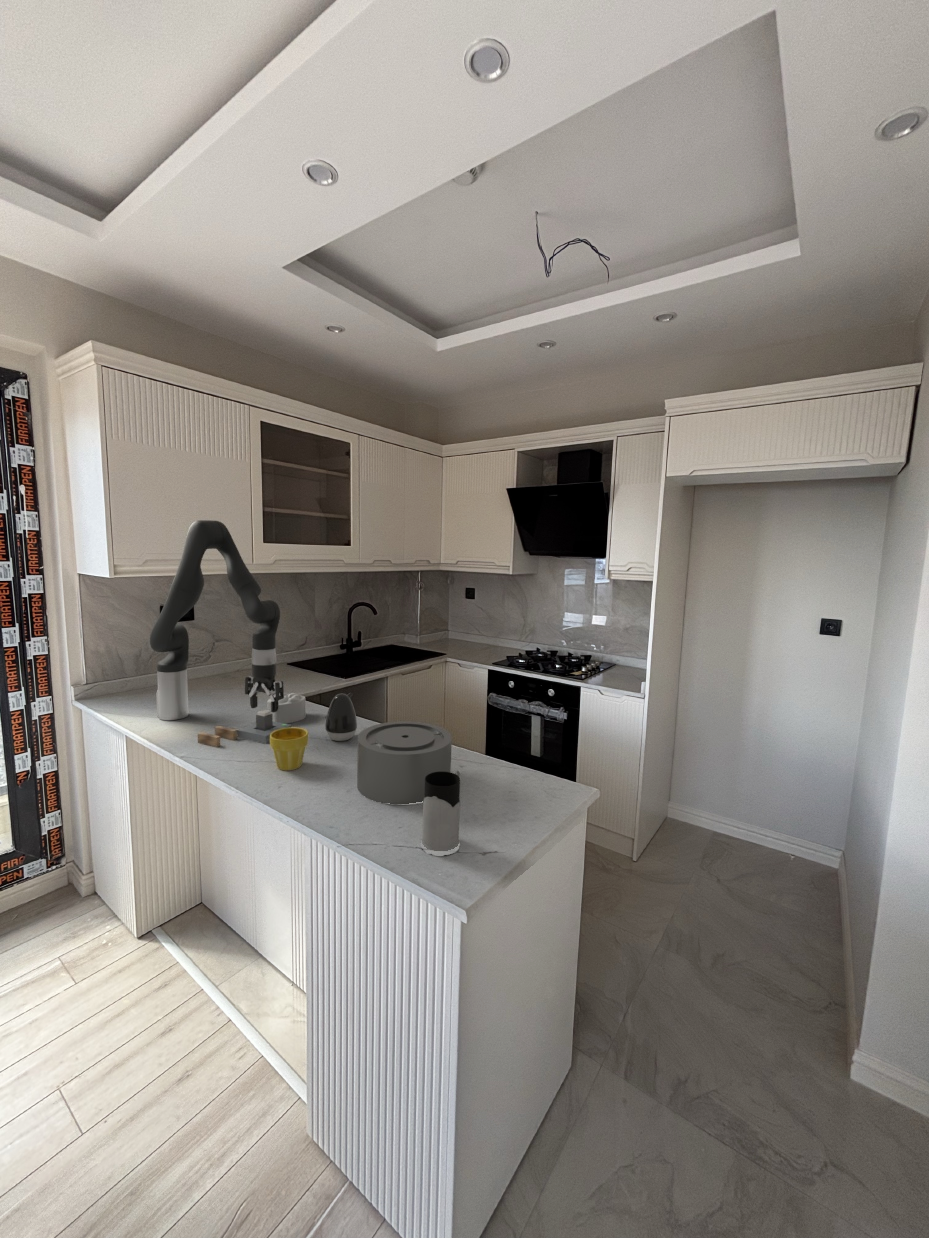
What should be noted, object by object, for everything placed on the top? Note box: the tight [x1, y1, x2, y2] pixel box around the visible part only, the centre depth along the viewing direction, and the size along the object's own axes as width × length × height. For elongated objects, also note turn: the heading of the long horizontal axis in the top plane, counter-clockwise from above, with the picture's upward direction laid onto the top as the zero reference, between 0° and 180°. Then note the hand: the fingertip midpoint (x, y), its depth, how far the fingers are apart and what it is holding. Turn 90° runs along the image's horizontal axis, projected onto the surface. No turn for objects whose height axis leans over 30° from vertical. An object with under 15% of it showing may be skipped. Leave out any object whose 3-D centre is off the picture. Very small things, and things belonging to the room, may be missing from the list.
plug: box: [255, 709, 273, 731], centre depth 173 cm, size 4×4×8 cm
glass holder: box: [421, 769, 461, 851], centre depth 114 cm, size 9×14×15 cm, turn 159°
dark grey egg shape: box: [324, 692, 358, 742], centre depth 172 cm, size 10×10×15 cm
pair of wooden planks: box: [197, 725, 238, 748], centre depth 167 cm, size 8×8×3 cm
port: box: [236, 721, 293, 744], centre depth 174 cm, size 12×12×3 cm
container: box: [356, 720, 453, 804], centre depth 141 cm, size 25×25×13 cm
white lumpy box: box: [266, 692, 307, 724], centre depth 191 cm, size 10×13×9 cm
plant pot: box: [269, 726, 309, 771], centre depth 150 cm, size 10×10×10 cm
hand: (264, 709), depth 173 cm, fingers open, 8 cm apart
